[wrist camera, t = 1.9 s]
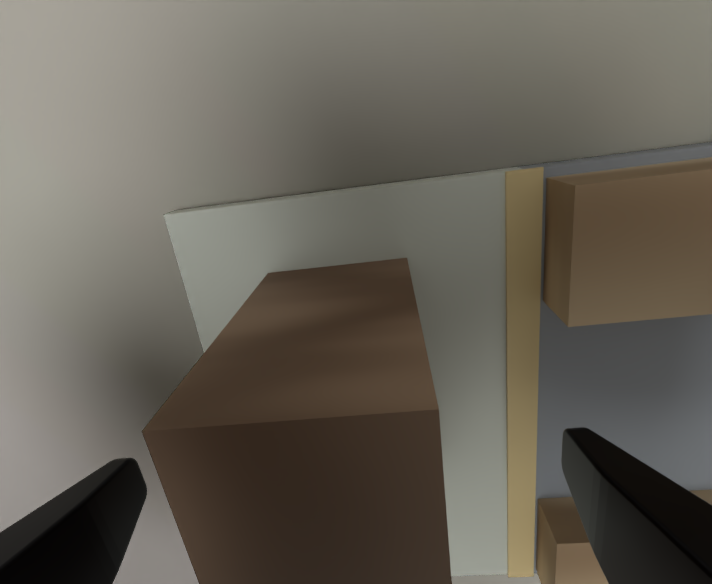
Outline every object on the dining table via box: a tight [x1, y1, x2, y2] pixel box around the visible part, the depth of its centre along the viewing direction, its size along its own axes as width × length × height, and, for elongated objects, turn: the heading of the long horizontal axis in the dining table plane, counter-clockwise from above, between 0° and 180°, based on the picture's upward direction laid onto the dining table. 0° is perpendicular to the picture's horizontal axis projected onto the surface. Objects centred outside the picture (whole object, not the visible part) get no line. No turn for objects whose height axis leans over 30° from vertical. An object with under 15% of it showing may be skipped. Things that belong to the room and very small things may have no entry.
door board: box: [164, 142, 712, 577], centre depth 12 cm, size 13×18×1 cm
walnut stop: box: [142, 258, 452, 584], centre depth 9 cm, size 4×6×6 cm, turn 8°
